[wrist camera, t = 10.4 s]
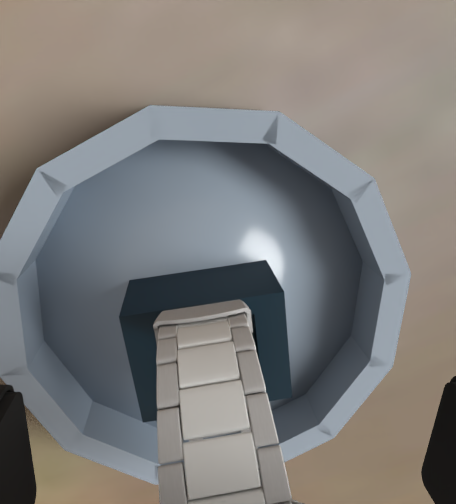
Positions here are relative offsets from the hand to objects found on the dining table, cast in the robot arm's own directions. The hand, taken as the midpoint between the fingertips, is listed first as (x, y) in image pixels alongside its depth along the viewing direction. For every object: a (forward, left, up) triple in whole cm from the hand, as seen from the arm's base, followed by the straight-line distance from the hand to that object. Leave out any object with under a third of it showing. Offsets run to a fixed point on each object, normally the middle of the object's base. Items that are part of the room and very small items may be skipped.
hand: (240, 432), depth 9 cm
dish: (+1, 0, -9) cm, 9 cm away
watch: (+2, 0, -9) cm, 9 cm away
